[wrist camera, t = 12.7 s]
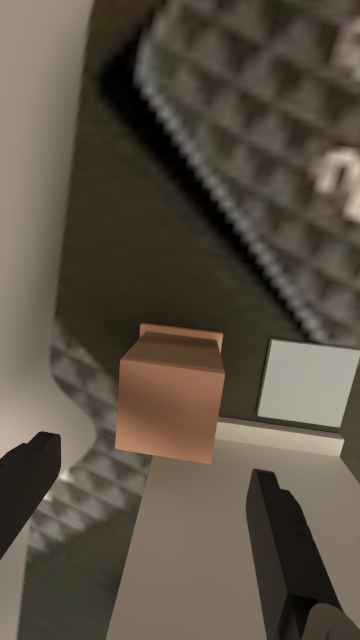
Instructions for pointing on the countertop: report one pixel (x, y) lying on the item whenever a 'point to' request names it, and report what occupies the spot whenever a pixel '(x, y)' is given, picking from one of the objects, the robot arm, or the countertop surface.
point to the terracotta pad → (182, 332)
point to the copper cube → (170, 397)
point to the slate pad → (307, 382)
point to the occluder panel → (231, 534)
